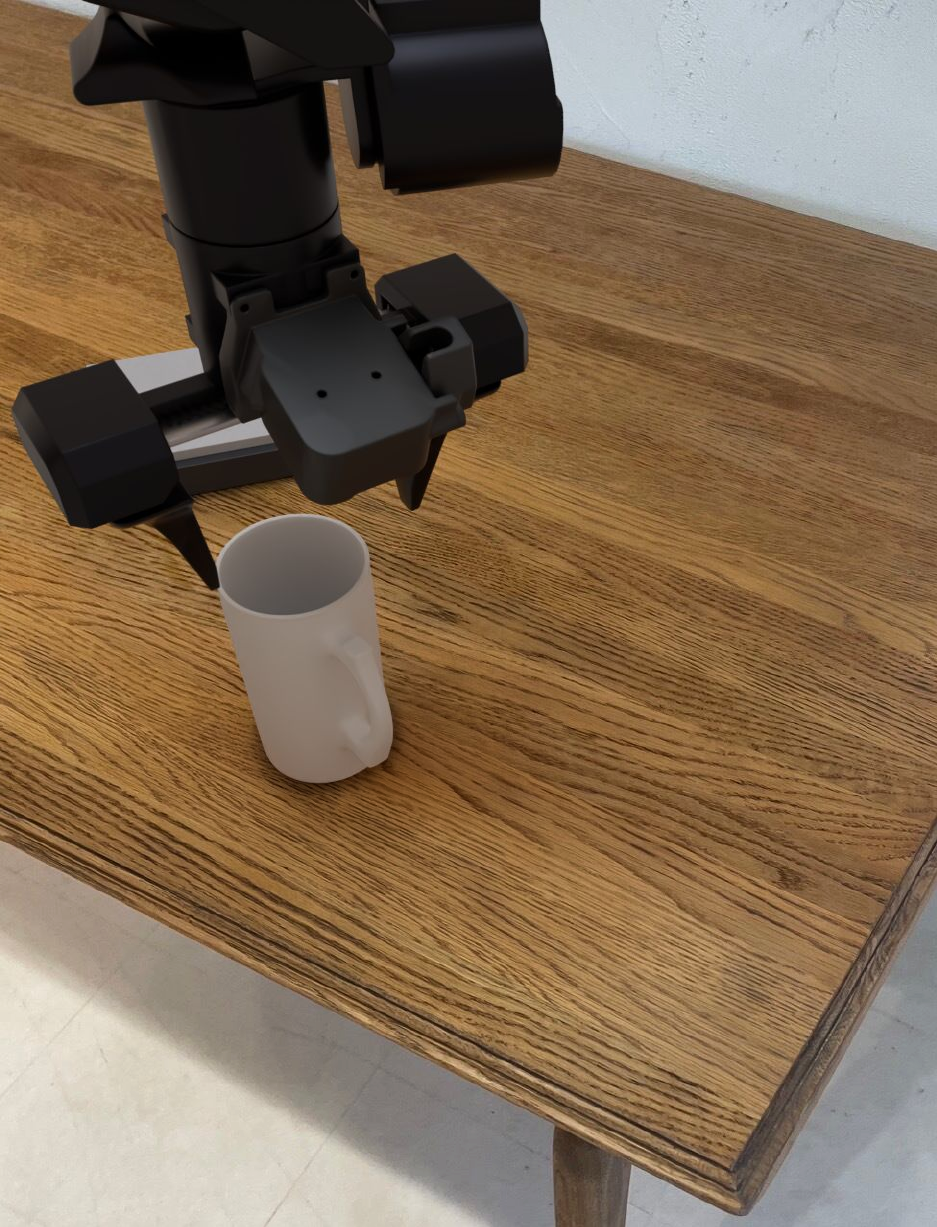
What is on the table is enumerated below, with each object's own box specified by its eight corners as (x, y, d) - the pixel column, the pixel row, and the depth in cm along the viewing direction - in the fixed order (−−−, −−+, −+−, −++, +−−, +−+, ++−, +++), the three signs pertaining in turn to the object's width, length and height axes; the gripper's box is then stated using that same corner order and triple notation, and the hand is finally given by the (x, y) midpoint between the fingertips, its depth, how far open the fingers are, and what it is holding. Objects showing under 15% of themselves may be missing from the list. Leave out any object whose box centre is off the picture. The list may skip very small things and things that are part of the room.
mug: (233, 727, 66) (185, 554, 57) (347, 665, 69) (317, 493, 61) (340, 857, 61) (304, 688, 52) (457, 784, 64) (442, 614, 55)
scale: (89, 515, 77) (76, 477, 75) (76, 399, 85) (64, 362, 83) (295, 475, 80) (288, 438, 78) (264, 367, 88) (257, 331, 86)
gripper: (57, 414, 36) (175, 764, 47) (613, 235, 44) (601, 571, 55) (-56, 238, 42) (72, 583, 53) (448, 109, 50) (467, 433, 61)
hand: (314, 543), depth 55 cm, fingers open, 9 cm apart
